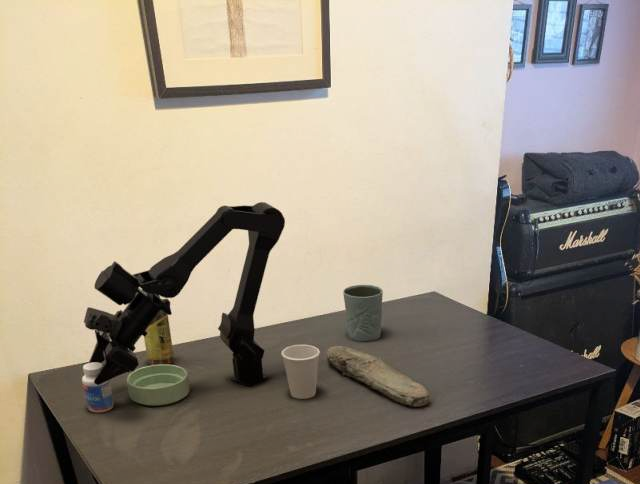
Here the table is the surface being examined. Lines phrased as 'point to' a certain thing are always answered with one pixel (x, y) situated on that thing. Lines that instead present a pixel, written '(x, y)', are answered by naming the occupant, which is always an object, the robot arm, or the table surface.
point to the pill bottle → (96, 389)
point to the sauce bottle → (159, 340)
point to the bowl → (158, 384)
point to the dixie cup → (301, 370)
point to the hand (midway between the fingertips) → (92, 375)
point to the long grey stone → (377, 375)
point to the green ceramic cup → (363, 312)
